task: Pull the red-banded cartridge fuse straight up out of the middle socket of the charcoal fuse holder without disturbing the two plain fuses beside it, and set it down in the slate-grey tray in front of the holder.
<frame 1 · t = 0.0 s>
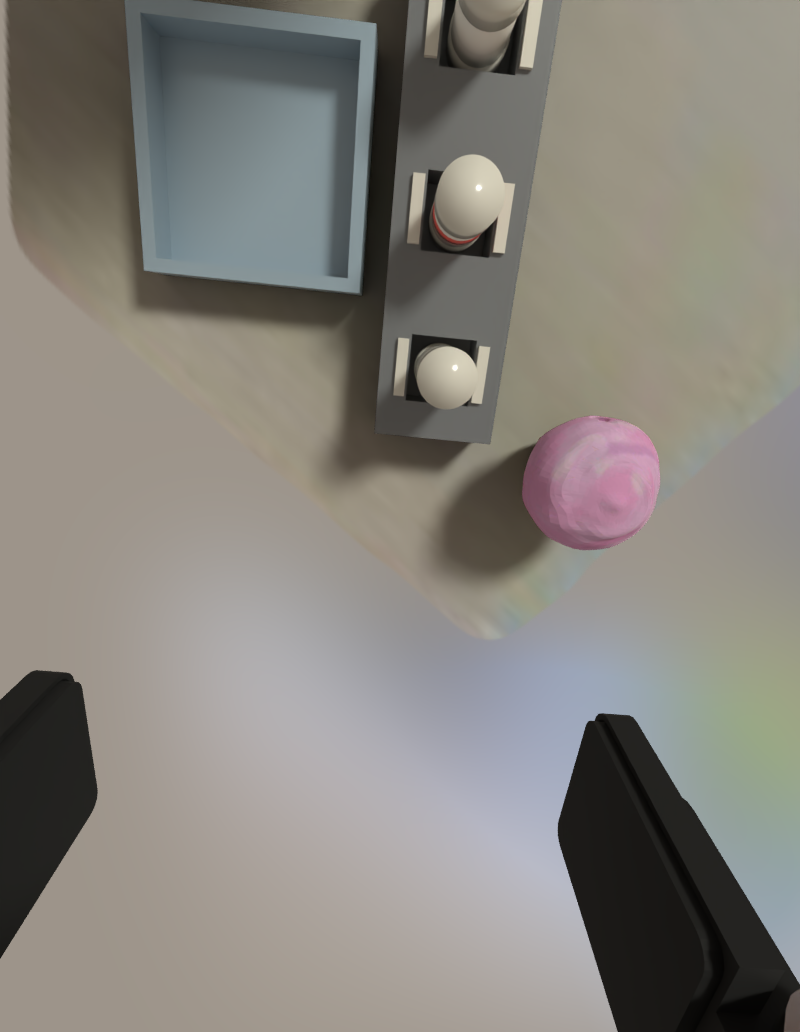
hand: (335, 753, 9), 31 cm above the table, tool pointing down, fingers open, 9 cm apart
tray: (264, 170, 33), on the table
cupcake: (560, 459, 40), on the table
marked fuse: (454, 224, 33), point 1 cm above the table, touching fuse holder
fuse holder: (452, 226, 34), on the table
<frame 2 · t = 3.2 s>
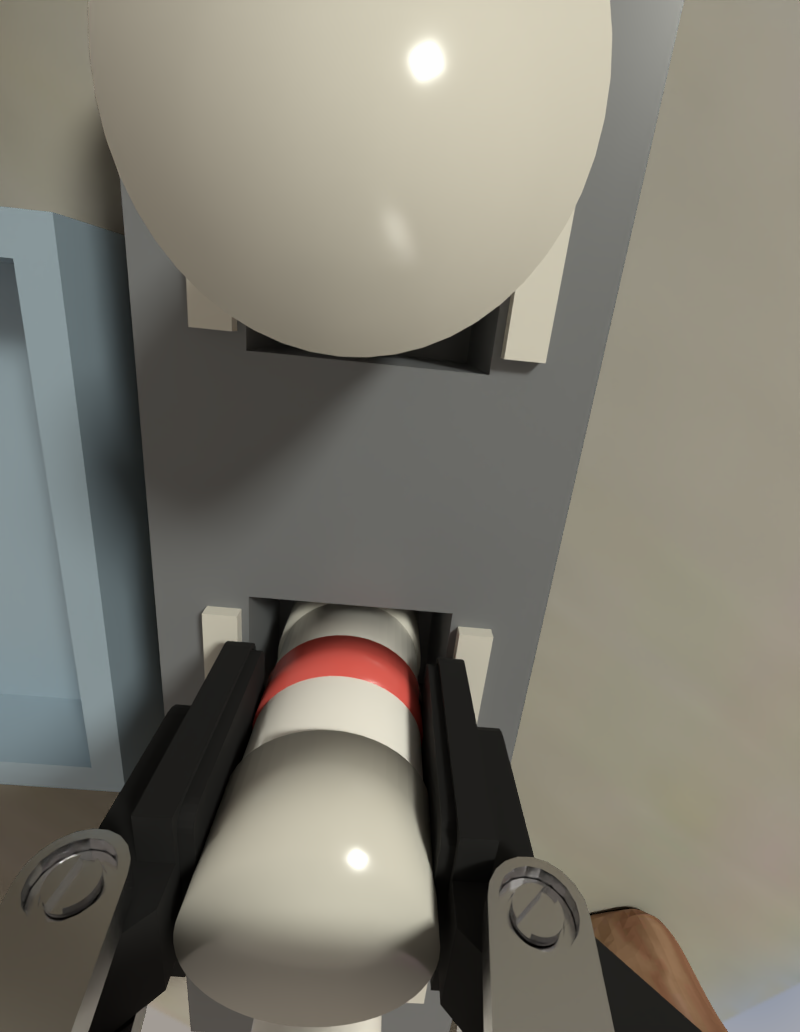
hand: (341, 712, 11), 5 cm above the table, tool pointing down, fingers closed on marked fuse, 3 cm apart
cupcake: (590, 936, 21), on the table
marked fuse: (355, 615, 14), point 1 cm above the table, touching fuse holder, gripper
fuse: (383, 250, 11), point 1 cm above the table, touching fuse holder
fuse holder: (358, 596, 15), on the table
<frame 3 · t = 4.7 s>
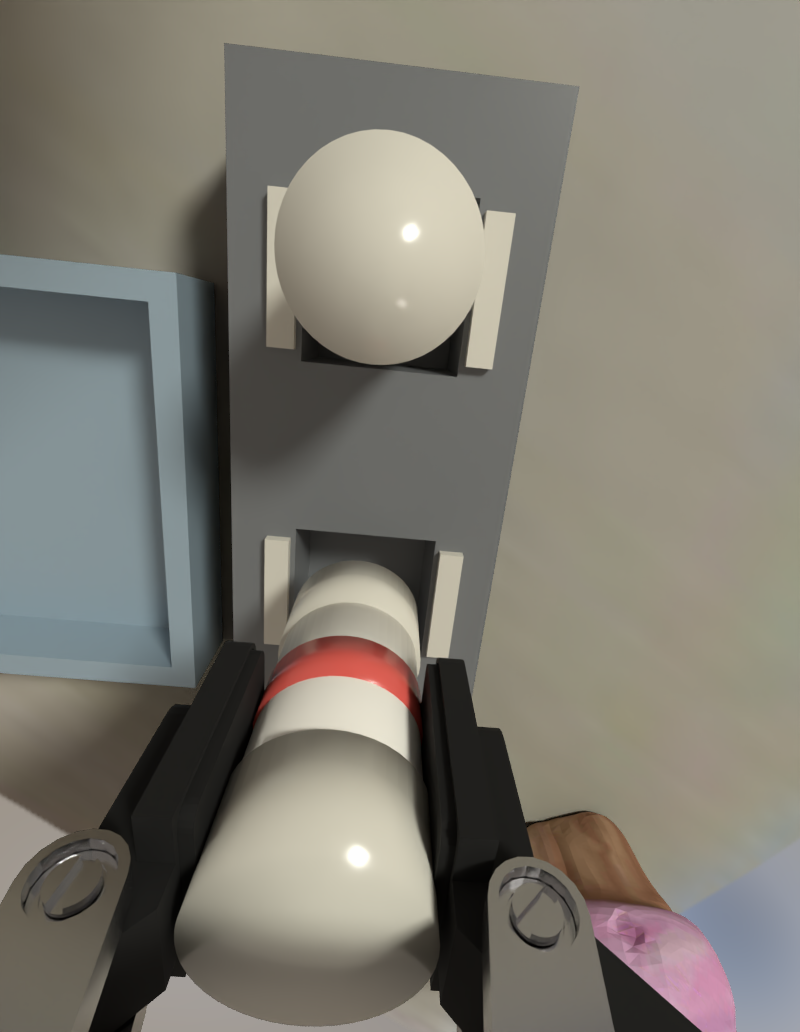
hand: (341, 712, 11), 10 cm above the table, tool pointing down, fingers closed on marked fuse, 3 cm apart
tray: (31, 466, 19), on the table
cupcake: (556, 839, 25), on the table
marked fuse: (355, 616, 14), point 6 cm above the table, touching gripper
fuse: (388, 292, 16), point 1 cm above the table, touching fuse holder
fuse holder: (368, 546, 20), on the table
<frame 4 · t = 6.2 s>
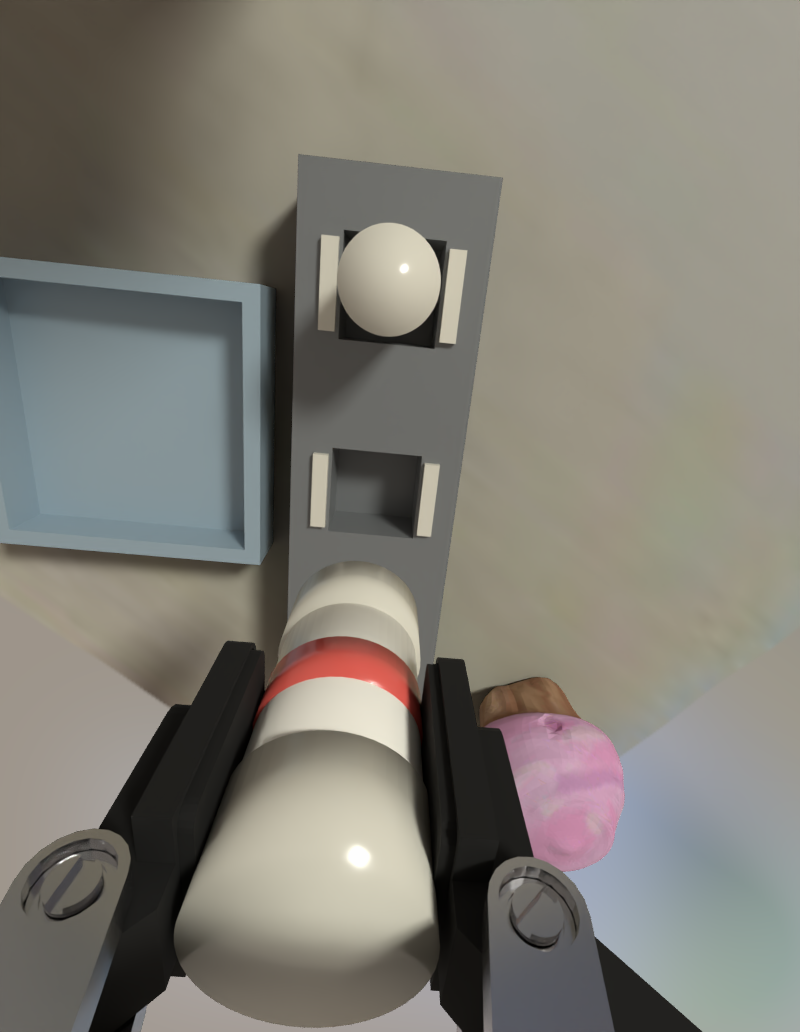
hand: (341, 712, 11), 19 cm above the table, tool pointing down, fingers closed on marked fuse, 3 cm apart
tray: (146, 414, 27), on the table
cupcake: (515, 701, 34), on the table
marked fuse: (355, 616, 14), point 15 cm above the table, touching gripper
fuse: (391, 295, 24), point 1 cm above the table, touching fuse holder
fuse holder: (377, 472, 28), on the table
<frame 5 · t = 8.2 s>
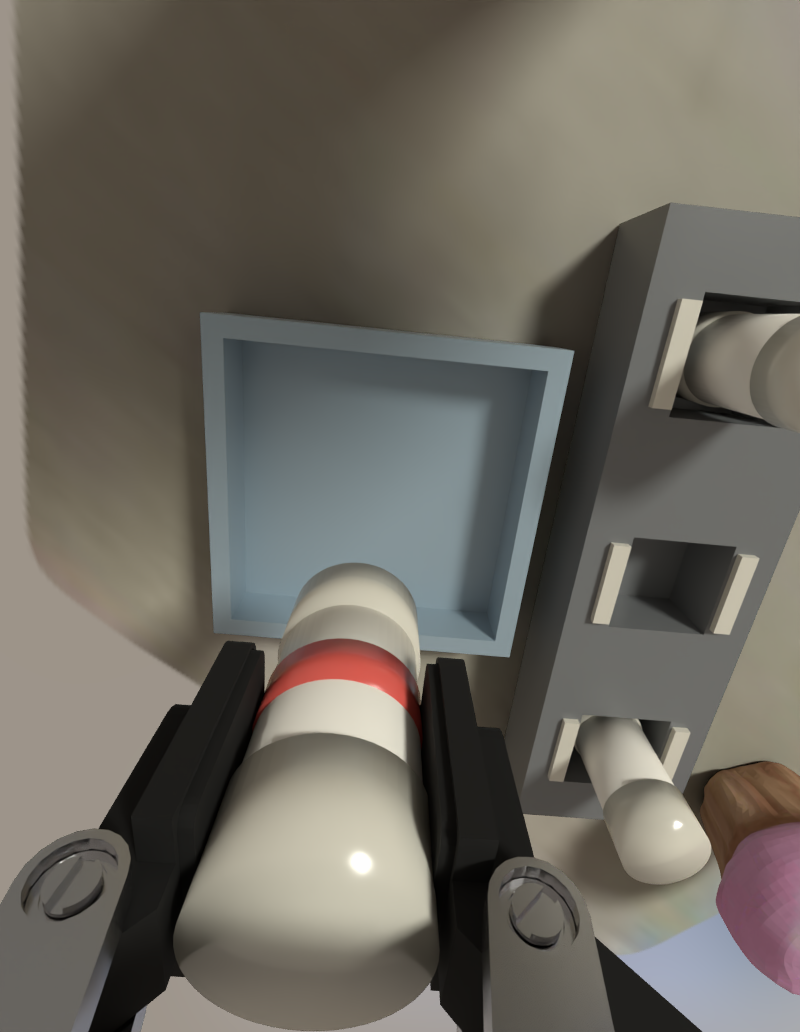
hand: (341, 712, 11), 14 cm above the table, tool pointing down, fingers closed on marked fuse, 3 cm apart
tray: (377, 484, 24), on the table
cupcake: (733, 784, 31), on the table
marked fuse: (355, 618, 14), point 11 cm above the table, touching gripper
fuse holder: (629, 547, 25), on the table
when the fingers open (6 cm above the table, at t = 9.6 s): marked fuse drops 2 cm, resting on tray.
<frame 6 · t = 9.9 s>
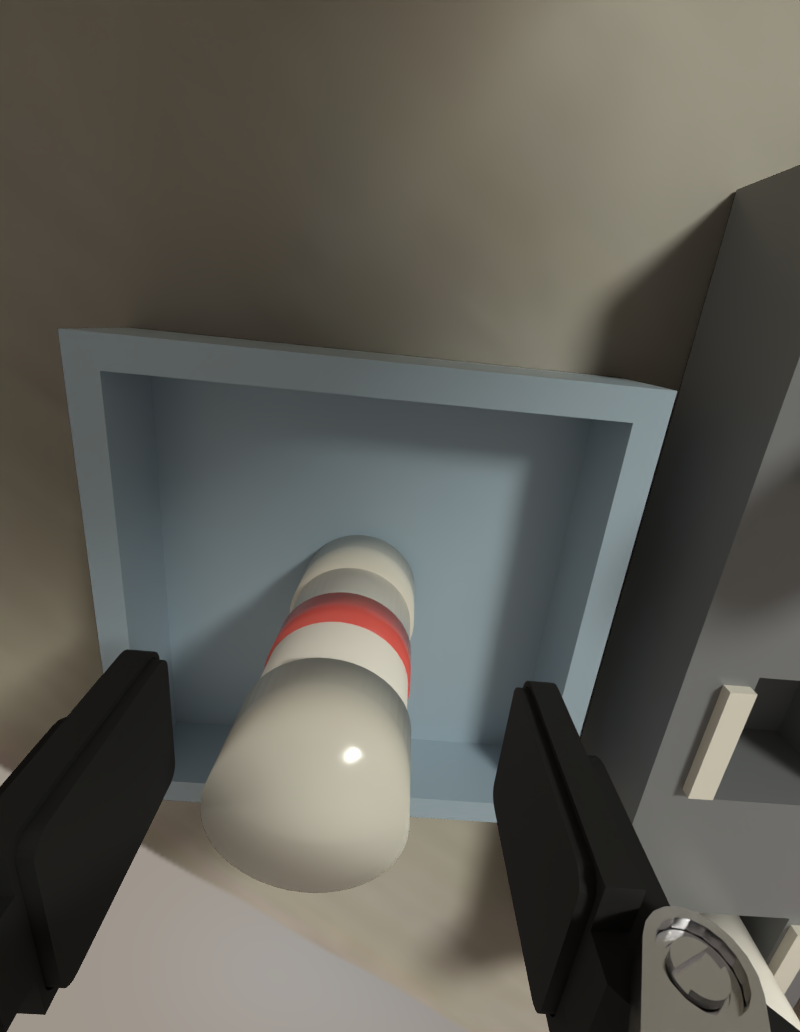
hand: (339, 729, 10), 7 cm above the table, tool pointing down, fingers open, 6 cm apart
tray: (361, 574, 16), on the table
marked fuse: (359, 585, 16), point 1 cm above the table, touching tray
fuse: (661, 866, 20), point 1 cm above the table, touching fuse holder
fuse holder: (720, 656, 17), on the table
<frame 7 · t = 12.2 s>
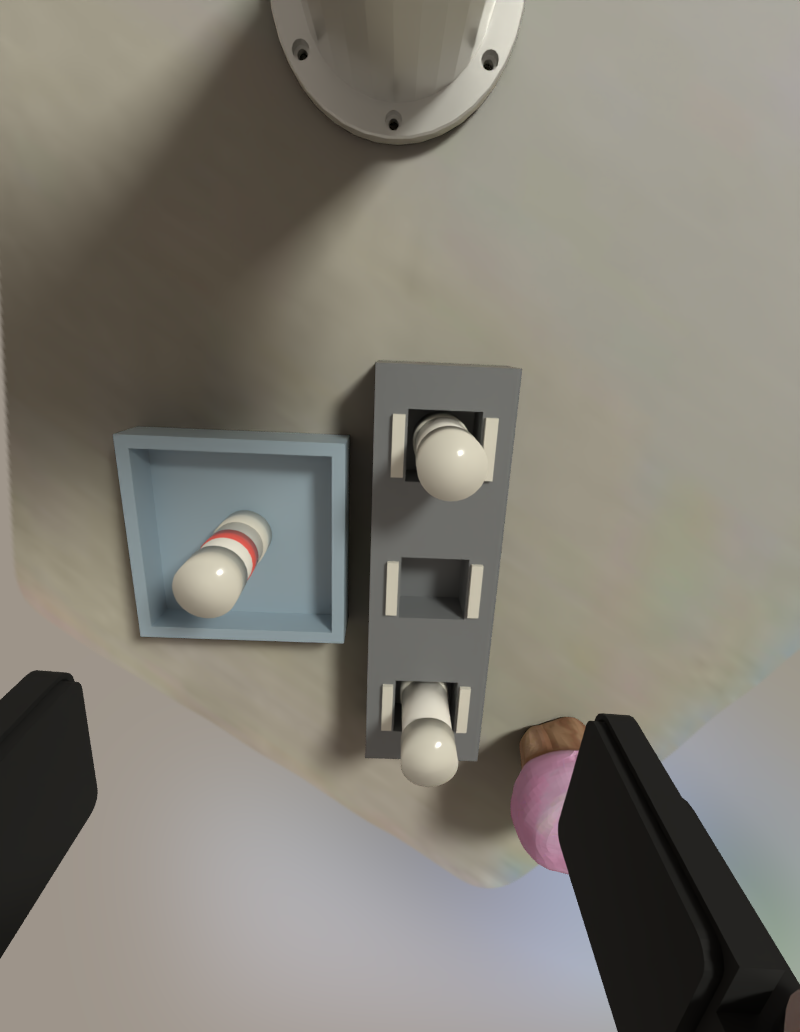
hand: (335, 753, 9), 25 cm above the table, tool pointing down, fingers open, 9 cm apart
tray: (249, 529, 35), on the table
cupcake: (548, 737, 41), on the table
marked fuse: (246, 533, 34), point 1 cm above the table, touching tray
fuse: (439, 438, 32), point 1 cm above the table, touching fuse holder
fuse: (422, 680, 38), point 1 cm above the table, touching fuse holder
fuse holder: (429, 563, 36), on the table
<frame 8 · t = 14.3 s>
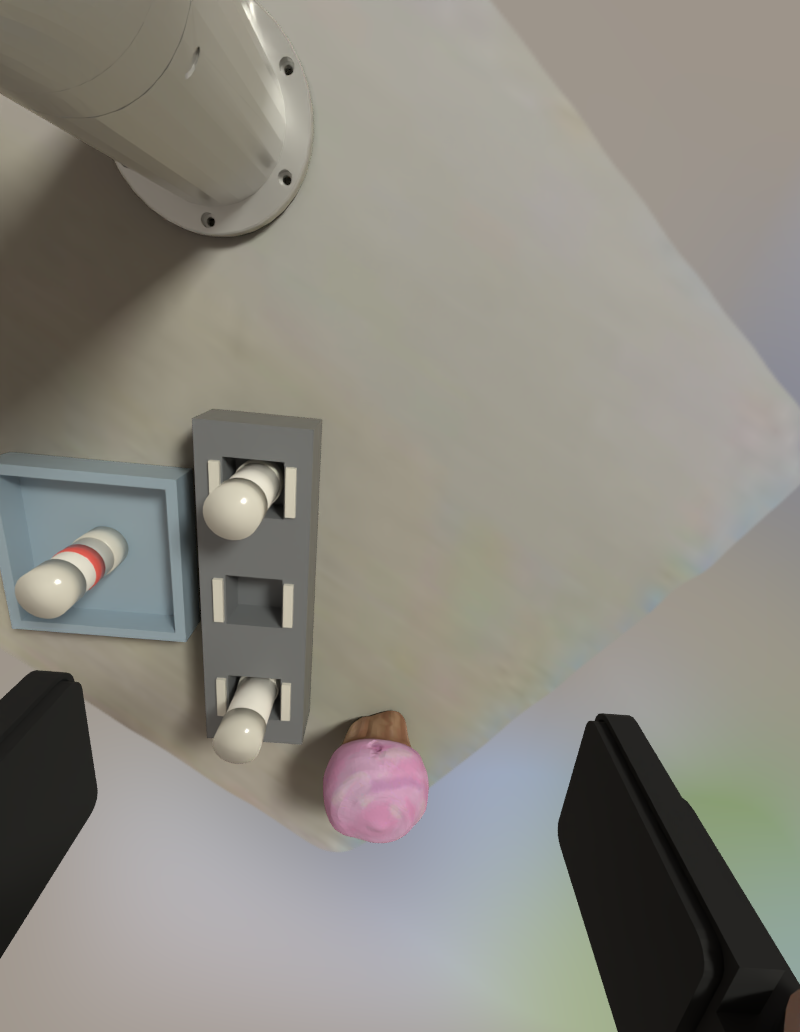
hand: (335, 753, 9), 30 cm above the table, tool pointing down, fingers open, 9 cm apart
tray: (110, 542, 41), on the table
cupcake: (378, 727, 48), on the table
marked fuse: (106, 546, 40), point 1 cm above the table, touching tray
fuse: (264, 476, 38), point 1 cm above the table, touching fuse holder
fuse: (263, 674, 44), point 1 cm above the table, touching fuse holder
fuse holder: (266, 577, 42), on the table
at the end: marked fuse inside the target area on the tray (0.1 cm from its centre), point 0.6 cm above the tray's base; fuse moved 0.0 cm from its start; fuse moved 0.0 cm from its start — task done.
